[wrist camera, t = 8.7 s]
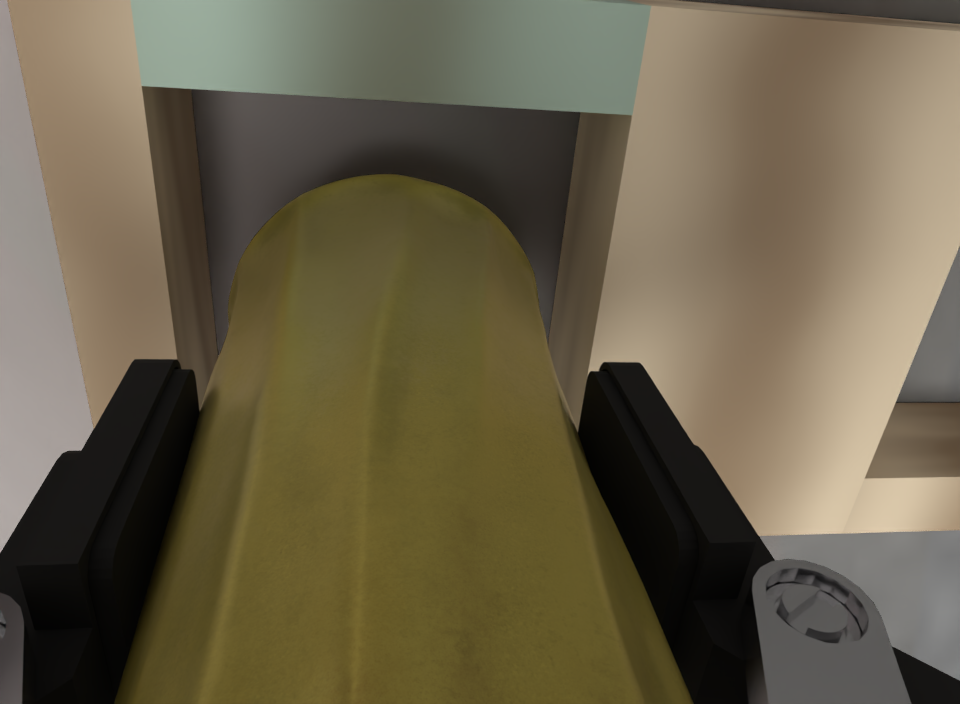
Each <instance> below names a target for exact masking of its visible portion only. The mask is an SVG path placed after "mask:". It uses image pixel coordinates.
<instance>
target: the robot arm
mask: <svg viewBox="0 0 960 704" xmlns="http://www.w3.org/2000/svg"><path fill="white" fill-rule="evenodd" d="M199 413H200V410H199V402H198V393H197V385H196V377H195V373H194V371H193V370H192V369H181V365H180V362H179V361H178V360H177V359H134V361H133V362H132V363H131V365H130V366H129V368H128V370H127V372H126V373H125V375H124V377H123V379H122V380H121V382H120V384H119V386H118V388H117V389H116V391H115V393H114V395H113V396H112V398H111V400H110V402H109V403H108V405H107V407H106V409H105V410H104V412H103V414H102V416H101V417H100V419H99V421H98V423H97V424H96V426H95V428H94V430H93V431H92V433H91V435H90V437H89V438H88V440H87V442H86V444H85V445H84V447H83V449H82V451H67V452H65V453H62V455H61V456H60V457H59V458H58V459H57V461H56V462H55V464H54V466H53V467H52V469H51V471H50V472H49V474H48V476H47V477H46V479H45V481H44V482H43V484H42V486H41V487H40V489H39V490H38V492H37V494H36V495H35V497H34V499H33V500H32V502H31V504H30V505H29V507H28V509H27V510H26V512H25V514H24V515H23V517H22V518H21V520H20V522H19V523H18V525H17V527H16V528H15V530H14V532H13V533H12V535H11V537H10V538H9V540H8V542H7V543H6V545H5V546H4V548H3V550H2V551H1V553H0V704H114V702H115V699H116V695H117V692H118V688H119V685H120V682H121V678H122V675H123V671H124V668H125V665H126V661H127V658H128V654H129V651H130V647H131V644H132V641H133V637H134V634H135V630H136V627H137V623H138V620H139V616H140V613H141V610H142V606H143V603H144V599H145V596H146V593H147V589H148V586H149V582H150V579H151V576H152V572H153V569H154V566H155V562H156V559H157V556H158V552H159V549H160V546H161V543H162V539H163V536H164V533H165V529H166V526H167V523H168V520H169V516H170V513H171V510H172V506H173V503H174V500H175V497H176V494H177V491H178V487H179V484H180V481H181V478H182V474H183V471H184V468H185V464H186V461H187V457H188V454H189V450H190V447H191V443H192V439H193V436H194V432H195V428H196V424H197V421H198V417H199ZM578 435H579V438H580V441H581V444H582V447H583V450H584V453H585V456H586V459H587V462H588V465H589V468H590V471H591V474H592V476H593V478H594V480H595V483H596V485H597V487H598V489H599V492H600V494H601V496H602V498H603V500H604V502H605V504H606V506H607V508H608V510H609V512H610V514H611V516H612V518H613V520H614V522H615V524H616V527H617V529H618V531H619V533H620V535H621V537H622V539H623V541H624V544H625V546H626V548H627V550H628V552H629V554H630V556H631V559H632V561H633V563H634V565H635V567H636V569H637V572H638V574H639V576H640V578H641V581H642V583H643V585H644V587H645V590H646V592H647V594H648V597H649V599H650V601H651V604H652V606H653V609H654V611H655V613H656V616H657V618H658V620H659V623H660V625H661V628H662V630H663V632H664V635H665V637H666V640H667V642H668V644H669V647H670V649H671V651H672V654H673V656H674V658H675V661H676V663H677V665H678V668H679V670H680V673H681V675H682V677H683V680H684V682H685V684H686V687H687V689H688V692H689V694H690V696H691V699H692V701H693V704H960V681H959V680H957V679H955V678H953V677H951V676H949V675H947V674H945V673H943V672H941V671H939V670H937V669H935V668H933V667H932V666H930V665H928V664H926V663H924V662H922V661H920V660H918V659H916V658H914V657H912V656H910V655H908V654H906V653H904V652H902V651H900V650H898V649H896V648H894V647H892V646H891V643H890V640H889V637H888V634H887V631H886V628H885V625H884V622H883V619H882V617H881V615H880V613H879V611H878V609H877V608H876V606H875V604H874V602H873V601H872V600H871V599H870V598H869V597H868V596H867V595H866V594H865V592H864V591H863V590H862V589H861V588H860V587H858V586H857V585H856V584H854V583H853V582H851V581H850V580H849V579H847V578H846V577H845V576H843V575H841V574H839V573H837V572H835V571H833V570H831V569H829V568H827V567H825V566H822V565H818V564H815V563H812V562H808V561H804V560H794V559H783V560H776V561H775V560H774V558H773V557H772V555H771V554H770V552H769V551H768V549H767V548H766V546H765V545H764V543H763V542H762V540H761V539H760V537H759V536H758V534H757V532H756V531H755V529H754V528H753V526H752V525H751V523H750V522H749V520H748V519H747V517H746V516H745V514H744V513H743V511H742V510H741V508H740V507H739V505H738V503H737V502H736V500H735V499H734V497H733V496H732V494H731V493H730V491H729V490H728V488H727V487H726V485H725V484H724V482H723V481H722V479H721V478H720V476H719V474H718V473H717V471H716V470H715V468H714V467H713V465H712V464H711V462H710V461H709V459H708V458H707V456H706V455H705V453H704V452H703V451H702V450H701V448H700V447H699V446H697V445H694V444H693V443H692V441H691V439H690V438H689V436H688V435H687V433H686V432H685V430H684V429H683V427H682V425H681V424H680V422H679V421H678V419H677V418H676V416H675V415H674V413H673V412H672V410H671V408H670V407H669V405H668V404H667V402H666V401H665V399H664V398H663V396H662V394H661V393H660V391H659V390H658V388H657V387H656V385H655V384H654V382H653V380H652V379H651V377H650V376H649V374H648V373H647V371H646V370H645V368H644V367H643V365H642V364H641V363H639V362H603V363H602V364H601V366H600V368H599V371H591V372H590V373H589V374H588V377H587V381H586V387H585V393H584V399H583V404H582V410H581V416H580V422H579V428H578Z"/></svg>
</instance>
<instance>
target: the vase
mask: <svg viewBox="0 0 960 704" xmlns="http://www.w3.org/2000/svg"><path fill="white" fill-rule="evenodd" d="M228 320H229V328H228V332H227V336H226V339H225V342H224V345H223V347H222V350H221V352H220V355H219V357H218V359H217V361H216V364H215V366H214V369H213V372H212V374H211V377H210V380H209V383H208V386H207V389H206V392H205V396H204V399H203V402H202V406H201V409H200V413H199V417H198V421H197V424H196V428H195V432H194V436H193V439H192V443H191V447H190V450H189V454H188V457H187V461H186V464H185V468H184V471H183V474H182V478H181V481H180V484H179V487H178V491H177V494H176V497H175V500H174V503H173V506H172V510H171V513H170V516H169V520H168V523H167V526H166V529H165V533H164V536H163V539H162V543H161V546H160V549H159V552H158V556H157V559H156V562H155V566H154V569H153V572H152V576H151V579H150V582H149V586H148V589H147V593H146V596H145V599H144V603H143V606H142V610H141V613H140V616H139V620H138V623H137V627H136V630H135V634H134V637H133V641H132V644H131V647H130V651H129V654H128V658H127V661H126V665H125V668H124V671H123V675H122V678H121V682H120V685H119V688H118V692H117V695H116V699H115V702H114V704H693V701H692V699H691V696H690V694H689V692H688V689H687V687H686V684H685V682H684V680H683V677H682V675H681V673H680V670H679V668H678V665H677V663H676V661H675V658H674V656H673V654H672V651H671V649H670V647H669V644H668V642H667V640H666V637H665V635H664V632H663V630H662V628H661V625H660V623H659V620H658V618H657V616H656V613H655V611H654V609H653V606H652V604H651V601H650V599H649V597H648V594H647V592H646V590H645V587H644V585H643V583H642V581H641V578H640V576H639V574H638V572H637V569H636V567H635V565H634V563H633V561H632V559H631V556H630V554H629V552H628V550H627V548H626V546H625V544H624V541H623V539H622V537H621V535H620V533H619V531H618V529H617V527H616V524H615V522H614V520H613V518H612V516H611V514H610V512H609V510H608V508H607V506H606V504H605V502H604V500H603V498H602V496H601V494H600V492H599V489H598V487H597V485H596V483H595V480H594V478H593V476H592V474H591V471H590V468H589V465H588V462H587V459H586V456H585V453H584V450H583V447H582V444H581V441H580V438H579V435H578V432H577V429H576V426H575V423H574V421H573V418H572V415H571V412H570V409H569V407H568V404H567V401H566V399H565V396H564V394H563V391H562V389H561V386H560V384H559V382H558V379H557V376H556V373H555V369H554V366H553V362H552V359H551V355H550V351H549V348H548V343H547V338H546V332H545V327H544V324H543V320H542V317H541V313H540V309H539V300H538V292H537V286H536V281H535V275H534V272H533V269H532V267H531V265H530V262H529V260H528V258H527V256H526V255H525V253H524V251H523V249H522V248H521V246H520V245H519V243H518V242H517V240H516V239H515V237H514V236H513V235H512V233H511V232H510V231H509V230H508V228H507V227H506V226H505V225H504V223H503V222H502V221H501V220H500V219H499V218H498V217H497V216H496V215H495V214H494V213H493V212H491V211H490V210H489V209H488V208H487V207H485V206H484V205H482V204H481V203H479V202H478V201H476V200H474V199H473V198H471V197H469V196H467V195H465V194H463V193H461V192H459V191H457V190H454V189H452V188H449V187H446V186H444V185H441V184H437V183H433V182H430V181H426V180H422V179H417V178H413V177H409V176H403V175H396V174H374V175H365V176H356V177H352V178H347V179H343V180H338V181H335V182H332V183H329V184H326V185H322V186H319V187H317V188H315V189H312V190H310V191H308V192H306V193H303V194H302V195H300V196H299V197H297V198H296V199H294V200H292V201H291V202H289V203H288V204H287V205H285V206H284V207H283V208H282V209H280V210H279V211H278V212H277V213H276V214H275V215H274V216H273V217H272V218H271V219H270V220H269V221H268V222H267V223H266V224H265V225H264V226H263V227H262V228H261V229H260V230H259V231H258V233H257V234H256V235H255V236H254V238H253V239H252V241H251V242H250V244H249V245H248V246H247V248H246V250H245V252H244V254H243V256H242V257H241V259H240V261H239V264H238V266H237V269H236V272H235V276H234V279H233V283H232V286H231V291H230V295H229V302H228Z"/></svg>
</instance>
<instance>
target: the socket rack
mask: <svg viewBox="0 0 960 704" xmlns="http://www.w3.org/2000/svg"><path fill="white" fill-rule="evenodd" d="M7 2H8V7H9V12H10V17H11V22H12V27H13V32H14V37H15V41H16V46H17V51H18V56H19V61H20V66H21V71H22V76H23V81H24V86H25V91H26V96H27V101H28V106H29V111H30V116H31V121H32V126H33V131H34V135H35V140H36V145H37V150H38V155H39V160H40V165H41V170H42V175H43V180H44V185H45V190H46V195H47V200H48V205H49V210H50V215H51V220H52V224H53V229H54V234H55V239H56V244H57V249H58V254H59V259H60V264H61V269H62V274H63V279H64V284H65V289H66V294H67V299H68V304H69V309H70V314H71V318H72V323H73V328H74V333H75V338H76V343H77V348H78V353H79V358H80V363H81V368H82V373H83V378H84V383H85V388H86V393H87V398H88V403H89V408H90V412H91V417H92V422H93V427H94V428H95V426H96V424H97V423H98V421H99V419H100V417H101V416H102V414H103V412H104V410H105V409H106V407H107V405H108V403H109V402H110V400H111V398H112V396H113V395H114V393H115V391H116V389H117V388H118V386H119V384H120V382H121V380H122V379H123V377H124V375H125V373H126V372H127V370H128V368H129V366H130V365H131V363H132V362H133V361H134V359H177V360H178V361H179V362H180V365H181V369H192V370H193V371H194V373H195V377H196V385H197V393H198V402H199V410H200V409H201V406H202V402H203V399H204V396H205V392H206V389H207V386H208V383H209V380H210V377H211V374H212V372H213V369H214V366H215V364H216V361H217V359H218V351H217V341H216V332H215V322H214V312H213V302H212V292H211V282H210V272H209V262H208V252H207V242H206V232H205V222H204V212H203V202H202V192H201V182H200V172H199V162H198V152H197V143H196V133H195V123H194V113H193V103H192V93H191V89H201V90H218V91H234V92H251V93H268V94H285V95H301V96H318V97H335V98H352V99H368V100H385V101H402V102H419V103H435V104H452V105H469V106H486V107H502V108H519V109H536V110H553V111H570V112H580V119H579V126H578V133H577V140H576V147H575V155H574V162H573V169H572V176H571V183H570V190H569V198H568V205H567V212H566V219H565V226H564V233H563V240H562V248H561V255H560V262H559V269H558V276H557V283H556V291H555V298H554V305H553V312H552V319H551V326H550V334H549V341H548V348H549V351H550V355H551V359H552V362H553V366H554V369H555V373H556V376H557V379H558V382H559V384H560V386H561V389H562V391H563V394H564V396H565V399H566V401H567V404H568V407H569V409H570V412H571V415H572V418H573V421H574V423H575V426H576V429H577V432H578V428H579V422H580V416H581V410H582V404H583V399H584V393H585V387H586V381H587V377H588V374H589V373H590V372H591V371H599V368H600V366H601V364H602V363H603V362H639V363H641V364H642V365H643V367H644V368H645V370H646V371H647V373H648V374H649V376H650V377H651V379H652V380H653V382H654V384H655V385H656V387H657V388H658V390H659V391H660V393H661V394H662V396H663V398H664V399H665V401H666V402H667V404H668V405H669V407H670V408H671V410H672V412H673V413H674V415H675V416H676V418H677V419H678V421H679V422H680V424H681V425H682V427H683V429H684V430H685V432H686V433H687V435H688V436H689V438H690V439H691V441H692V443H693V444H694V445H697V446H699V447H700V448H701V450H702V451H703V452H704V453H705V455H706V456H707V458H708V459H709V461H710V462H711V464H712V465H713V467H714V468H715V470H716V471H717V473H718V474H719V476H720V478H721V479H722V481H723V482H724V484H725V485H726V487H727V488H728V490H729V491H730V493H731V494H732V496H733V497H734V499H735V500H736V502H737V503H738V505H739V507H740V508H741V510H742V511H743V513H744V514H745V516H746V517H747V519H748V520H749V522H750V523H751V525H752V526H753V528H754V529H755V531H756V532H757V534H758V536H769V535H804V534H839V533H874V532H909V531H943V530H960V403H896V400H897V398H898V395H899V393H900V391H901V388H902V386H903V383H904V381H905V378H906V376H907V373H908V371H909V369H910V366H911V364H912V361H913V359H914V356H915V354H916V351H917V349H918V347H919V344H920V342H921V339H922V337H923V334H924V332H925V329H926V327H927V325H928V322H929V320H930V317H931V315H932V312H933V310H934V307H935V305H936V303H937V300H938V298H939V295H940V293H941V290H942V288H943V285H944V283H945V281H946V278H947V276H948V273H949V271H950V268H951V266H952V263H953V261H954V259H955V256H956V254H957V251H958V249H959V246H960V24H953V23H941V22H930V21H918V20H906V19H894V18H882V17H870V16H859V15H847V14H835V13H823V12H811V11H799V10H788V9H776V8H764V7H752V6H740V5H728V4H716V3H705V2H693V1H681V0H7Z"/></svg>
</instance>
